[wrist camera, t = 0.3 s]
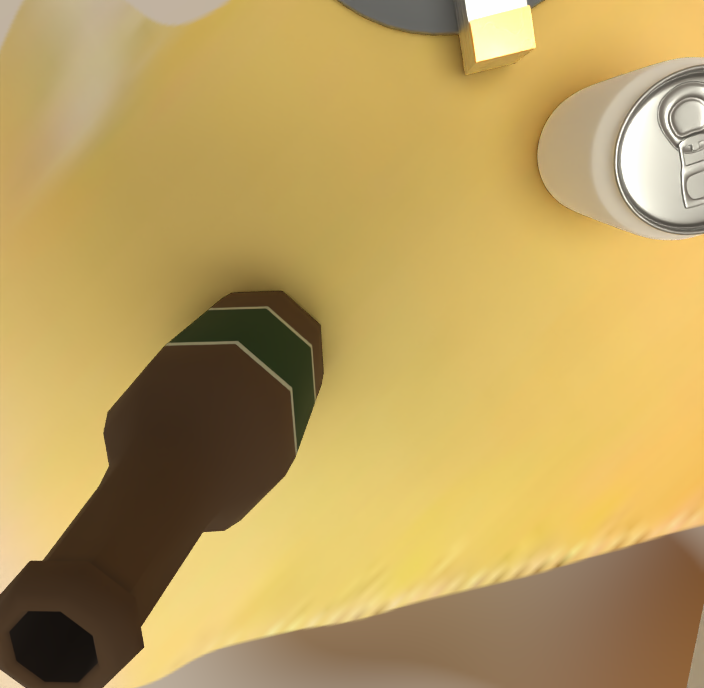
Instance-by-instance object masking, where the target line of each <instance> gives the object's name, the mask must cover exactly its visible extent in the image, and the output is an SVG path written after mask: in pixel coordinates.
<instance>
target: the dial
mask: <svg viewBox="0 0 704 688" xmlns="http://www.w3.org/2000/svg"><path fill="white" fill-rule="evenodd" d="M453 2H454V8H455V15H456V21H457V27H458V33H459V39H460V46H461V52H462V58H463V64H464V70H465V75H469V74H473V73H477V72H482V71H486V70H490V69H494V68H498V67H502V66H506V65H510V64H515V63H516V62H517V61H519V60H520V59H521V58H522V57H524V56H525V55H526V54H528V53H529V52H530V51H532V50H533V49H534V48H535V39H534V32H533V24H532V17H531V9H530V5H528V6H527V2H526V0H453Z"/></svg>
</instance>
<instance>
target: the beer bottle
mask: <svg viewBox="0 0 704 688" xmlns="http://www.w3.org/2000/svg"><path fill="white" fill-rule="evenodd" d="M323 374H324V371H323V356H322V341H321V326H320V324H319V323H318V322H316V321H315V320H314V319H313V318H312V317H311V316H310V315H309V314H307V313H306V312H305V311H304V310H303V309H302V308H301V307H300V306H298V305H297V304H296V303H295V302H294V301H293V300H292V299H291V298H289V297H288V296H287V295H286V294H285V293H284V292H283V291H269V292H238V293H231V294H229V295H227V296H225V297H224V298H222V299H221V300H220V301H218V302H217V303H216V304H215V305H214V306H212V307H211V308H210V309H209V310H208V311H206V312H205V313H204V314H203V315H201V316H200V317H199V318H198V319H197V320H195V321H194V322H193V323H192V324H191V325H189V326H188V327H187V328H186V329H184V330H183V331H182V332H181V333H180V334H178V335H177V336H176V337H175V338H174V339H172V340H171V341H170V342H169V343H167V344H166V345H165V346H164V347H163V348H162V349H161V351H160V352H159V353H158V354H157V355H156V356H155V357H154V359H153V360H152V361H151V362H150V363H149V364H148V365H147V367H146V368H145V369H144V370H143V371H142V373H141V374H140V375H139V376H138V377H137V378H136V380H135V381H134V382H133V383H132V384H131V385H130V387H129V388H128V389H127V390H126V391H125V392H124V394H123V395H122V396H121V397H120V398H119V400H118V401H117V402H116V403H115V404H114V405H113V407H112V408H111V409H110V410H109V411H108V413H107V418H106V423H105V428H104V433H103V434H104V439H105V445H106V451H107V456H108V462H109V467H108V469H107V471H106V473H105V475H104V477H103V479H102V481H101V483H100V485H99V487H98V488H97V490H96V491H95V492H94V494H93V495H92V496H91V498H90V499H89V500H88V502H87V503H86V504H85V505H84V507H83V508H82V509H81V511H80V512H79V513H78V515H77V516H76V517H75V519H74V520H73V521H72V523H71V524H70V525H69V527H68V528H67V529H66V531H65V532H64V533H63V535H62V536H61V537H60V539H59V540H58V541H57V543H56V544H55V545H54V546H53V548H52V549H51V550H50V552H49V553H48V554H47V556H46V557H45V558H44V560H43V561H30V562H29V563H28V564H27V565H26V566H25V567H24V568H23V569H22V571H21V572H20V573H19V574H18V575H17V576H16V577H15V578H14V580H13V581H12V582H11V583H10V584H9V585H8V586H7V588H6V589H5V590H4V591H3V592H2V593H1V594H0V670H2V671H3V672H4V673H6V674H7V675H9V676H10V677H11V678H13V679H14V680H16V681H17V682H18V683H20V684H21V685H22V686H24V687H25V688H103V687H104V686H105V685H106V684H107V683H108V682H109V681H110V680H111V679H112V678H113V677H114V676H115V675H116V674H117V673H118V672H119V671H120V670H121V669H122V668H123V667H125V666H126V665H127V664H128V663H129V662H130V661H131V660H132V659H133V658H134V657H135V656H136V655H137V654H138V653H139V652H140V651H141V650H142V649H143V648H144V643H143V637H142V631H141V626H142V625H143V623H144V622H145V620H146V618H147V617H148V615H149V614H150V612H151V611H152V609H153V608H154V606H155V605H156V603H157V602H158V600H159V599H160V597H161V596H162V594H163V592H164V591H165V589H166V588H167V586H168V585H169V583H170V582H171V580H172V579H173V577H174V576H175V574H176V573H177V571H178V569H179V568H180V566H181V565H182V563H183V562H184V560H185V559H186V557H187V556H188V554H189V553H190V551H191V550H192V548H193V547H194V545H195V543H196V542H197V540H198V539H199V537H200V536H201V534H202V533H203V532H212V531H225V530H226V529H228V528H229V527H231V526H232V525H234V524H236V523H237V522H239V521H240V520H241V519H242V518H243V517H244V516H245V515H246V514H247V513H248V512H249V511H250V510H251V509H252V508H253V507H254V506H255V505H256V504H257V503H258V502H259V501H260V500H261V499H262V498H263V497H264V496H265V495H266V494H267V493H268V492H269V491H270V490H271V489H272V488H273V487H274V486H275V485H276V484H277V483H278V482H279V481H280V480H281V479H282V478H283V477H284V476H285V475H286V473H287V472H288V470H289V468H290V466H291V464H292V462H293V461H294V459H295V457H296V454H297V452H298V449H299V446H300V443H301V440H302V438H303V435H304V432H305V429H306V426H307V424H308V421H309V418H310V415H311V412H312V409H313V407H314V404H315V401H316V398H317V395H318V393H319V390H320V387H321V384H322V379H323Z"/></svg>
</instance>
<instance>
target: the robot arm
mask: <svg viewBox="0 0 704 688" xmlns="http://www.w3.org/2000/svg"><path fill="white" fill-rule="evenodd" d="M687 688H704V606H703V611H702V616H701V621H700V626H699V631H698V636H697V640H696V645H695V650H694V655H693V660H692V665H691V669H690V674H689V679H688V685H687Z"/></svg>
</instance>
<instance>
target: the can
mask: <svg viewBox="0 0 704 688" xmlns="http://www.w3.org/2000/svg"><path fill="white" fill-rule="evenodd" d="M537 159H538V168H539V172H540V175H541V178H542V181H543V183H544V185H545V187H546V188H547V190H548V191H549V192H550V194H551V195H552V196H553V197H554V198H555V199H556V200H557V201H558V202H559V203H561V204H562V205H564V206H565V207H567V208H569V209H571V210H573V211H575V212H578V213H580V214H582V215H585V216H588V217H590V218H593V219H595V220H598V221H600V222H603V223H606V224H608V225H611V226H614V227H616V228H619V229H622V230H624V231H627V232H630V233H633V234H636V235H639V236H643V237H647V238H651V239H659V240H680V239H686V238H691V237H695V236H699V235H701V234H704V58H701V57H688V58H678V59H673V60H668V61H664V62H661V63H657V64H654V65H651V66H647V67H644V68H641V69H638V70H635V71H632V72H629V73H626V74H623V75H620V76H617V77H614V78H611V79H608V80H605V81H602V82H599V83H596V84H594V85H591V86H589V87H586V88H584V89H582V90H580V91H578V92H576V93H575V94H573V95H571V96H570V97H568V98H567V99H566V100H564V101H563V102H562V103H561V104H560V105H559V106H558V107H557V108H556V109H555V110H554V111H553V113H552V114H551V115H550V117H549V118H548V120H547V122H546V124H545V126H544V128H543V130H542V133H541V136H540V140H539V144H538V153H537Z"/></svg>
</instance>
